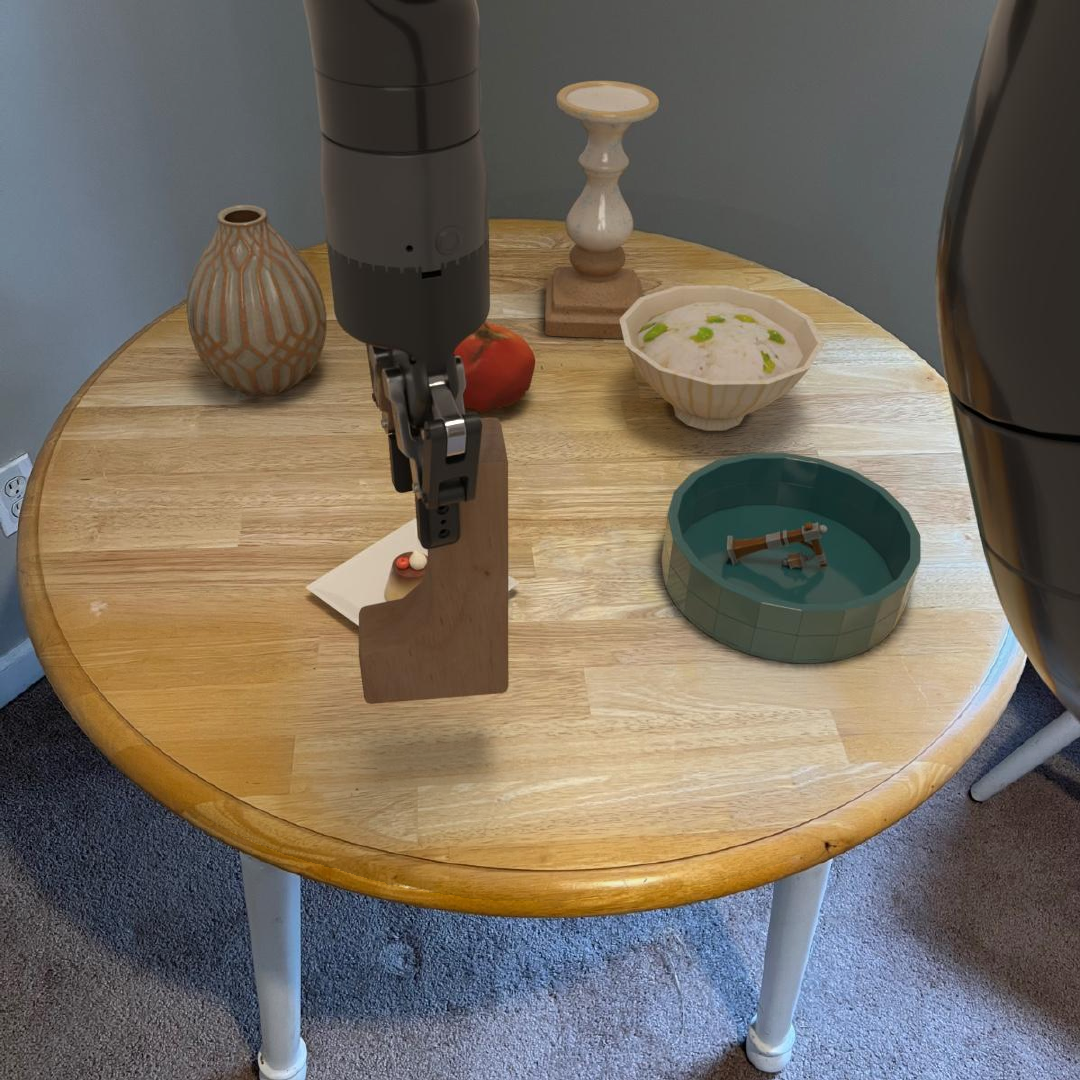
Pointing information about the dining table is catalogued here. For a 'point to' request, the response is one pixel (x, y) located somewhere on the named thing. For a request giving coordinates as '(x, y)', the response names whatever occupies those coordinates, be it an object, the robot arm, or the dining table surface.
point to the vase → (255, 306)
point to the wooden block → (449, 604)
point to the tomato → (495, 367)
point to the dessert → (377, 573)
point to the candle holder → (598, 215)
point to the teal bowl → (763, 581)
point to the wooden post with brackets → (778, 540)
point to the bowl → (718, 350)
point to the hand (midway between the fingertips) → (425, 513)
